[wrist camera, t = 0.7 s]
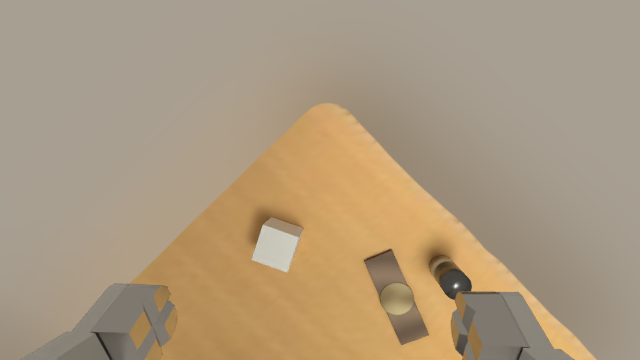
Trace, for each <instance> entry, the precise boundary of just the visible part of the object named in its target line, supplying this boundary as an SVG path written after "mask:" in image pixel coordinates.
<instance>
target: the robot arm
mask: <svg viewBox="0 0 640 360" xmlns="http://www.w3.org/2000/svg"><path fill="white" fill-rule="evenodd" d="M170 295H171V294H170V292H169V289H168V287H167V286H163V285H143V284H116V283H115V284H113V285H111V286H109V287H108V288H107V289H106V291H105V292H104V293H103V294H102V295H101V297H100V298H99V299H98V300H97V301H96V303H95V304H94V305H93V306H92V307H91V309H90V310H89V311H88V312H87V313H86V315H85V316H84V317H83V318H82V319H81V321H80V322H79V323H78V324H77V325H76V327H75V328H74V329H73V330H72V331H71V332H65V333H63V334H62V335H60V336H58V337H56V338H55V339H53V340H52V341H50V342H49V343H47V344H45V345H43V346H42V347H40V348H38V349H37V350H35V351H34V352H32V353H30V354H29V355H27V356H25V357H24V358H22V359H20V360H160V358H161V356H162V354H163V353H162V348H161V346H162V345H164V344H165V343H166V342H167V341H169V340H170V339H171V337H172V335H173V333H174V331H175V327H176V323H177V310H176V308H175V305H174V304H172V303H171V302H170V301H169V300H168V298H169V297H170ZM455 303H456V306H457V310H455V311H454V312H453V313H452V319H451V333H452V338H453V342H454V346H455V349H456V350H457V351H458V352H459V353H460V354H461V355H462V356H463V358H462V360H574V359H573V358H572V357H570V356H569V355H568V354H566V353H565V352H564V351H562V350H561V349H554V348H553V346H552V345H551V343H550V341H549V340H548V338H547V336H546V335H545V333H544V331H543V330H542V328H541V326H540V324H539V323H538V321H537V319H536V318H535V316H534V314H533V313H532V311H531V309H530V308H529V306H528V304H527V303H526V301H525V299H524V298H523V296H522V295H521V294H520V293H519V292H470V291H459V292H458V293H457V294H456V298H455Z"/></svg>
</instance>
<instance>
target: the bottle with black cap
mask: <svg viewBox="0 0 640 360" xmlns="http://www.w3.org/2000/svg"><path fill="white" fill-rule="evenodd" d="M429 268H430V272H431V273H432V275H433V276H434V278H435V279H436V281H437V282H438V284H439V285H440V287H441V288H442V290H443V291H444V292H445V294H446V295H447V296H448V297H449V298H451V299H454V300H455V298H456V294H457V293H458V292H459V291H470V292H471V288H472V285H471V281H470V280H469V278H468V277H467V276H466V275H465V274H464V273H463V272H462V271H461V270H460V269H459V268H458V266H457V265H456V264H455V263H454V262H453V261H452V260H451V259H450V258H449V257H447V256H442V255H441V256H437V257H435V258H434V259H432V261H431V262H430V267H429Z"/></svg>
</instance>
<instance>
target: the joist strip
mask: <svg viewBox="0 0 640 360" xmlns="http://www.w3.org/2000/svg"><path fill="white" fill-rule="evenodd" d="M364 262H365V264H366V266H367V269H368V271H369V273H370V275H371V278H372V280H373V282H374V284H375V287H376V289H377V291H378V293H379V296H380V301H381V305H382V307H383V308H384V309H385V310H386V311H387V314H388V316H389V318H390V320H391V323H392V325H393V327H394V329H395V332H396V334H397V336H398V338H399V341H400V343H401V345H403V344H406V343H409V342H412V341H414V340H417V339H420V338H422V337H425V336H428V335H429V334H428V332H427V329H426V327H425V325H424V322H423V320H422V318H421V316H420V313H419V311H418V309H417V306H416V304H415V302H414V296H413V293H412V291H411V289H410V288H409V287H408V286H407V284H406V281H405V279H404V277H403V274H402V272H401V270H400V268H399V265H398V263H397V261H396V259H395V256H394V254H393V252H392V250H389V251H387V252H384V253H382V254H379V255H377V256H374V257H372V258H369V259H367V260H364Z"/></svg>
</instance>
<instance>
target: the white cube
mask: <svg viewBox="0 0 640 360" xmlns="http://www.w3.org/2000/svg"><path fill="white" fill-rule="evenodd" d="M303 229H304V228H302V227H299V226H296V225H293V224H290V223H287V222H284V221H282V220H279V219H276V218H273V217H271V218H270V219H269V220H267V221H266V222H265V223H264V224H263V226H262V229H261V232H260V235H259V238H258V241H257V244H256V248H255V251H254V254H253V257H252V260H253V261H256V262H259V263H262V264H265V265H267V266H270V267H273V268H276V269H279V270H281V271H284V272H288V270H289V268H290V266H291V264H292V261H293V259H294V256H295V253H296V250H297V247H298V244H299V241H300V238H301V235H302V232H303Z"/></svg>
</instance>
